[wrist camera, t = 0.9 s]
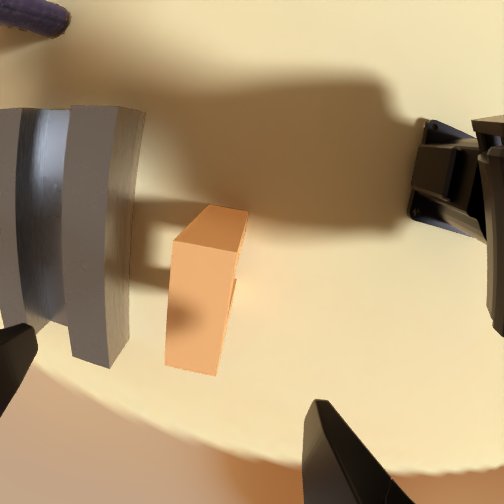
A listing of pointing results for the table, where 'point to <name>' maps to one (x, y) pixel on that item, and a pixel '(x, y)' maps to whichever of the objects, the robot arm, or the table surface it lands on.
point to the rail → (69, 222)
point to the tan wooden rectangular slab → (203, 288)
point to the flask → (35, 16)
